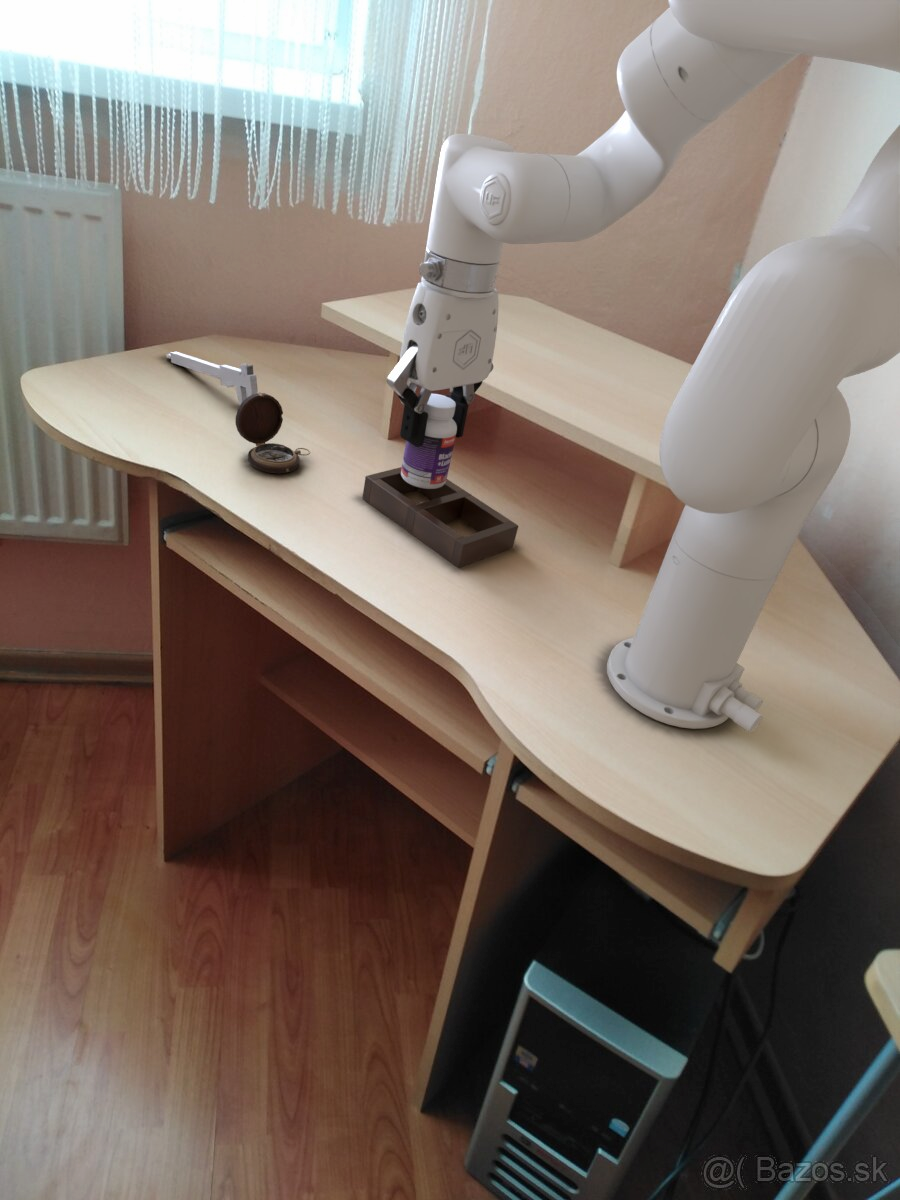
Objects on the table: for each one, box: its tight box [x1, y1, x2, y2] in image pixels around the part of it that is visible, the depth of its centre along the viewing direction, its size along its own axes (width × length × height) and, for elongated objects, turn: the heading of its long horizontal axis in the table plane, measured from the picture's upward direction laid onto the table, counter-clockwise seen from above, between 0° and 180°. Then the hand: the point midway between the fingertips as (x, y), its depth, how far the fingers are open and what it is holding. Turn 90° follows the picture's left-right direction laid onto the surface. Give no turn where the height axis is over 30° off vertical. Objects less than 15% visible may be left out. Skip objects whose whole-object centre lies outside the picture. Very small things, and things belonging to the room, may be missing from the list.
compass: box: [235, 391, 311, 474], centre depth 107 cm, size 8×8×7 cm
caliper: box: [165, 351, 259, 406], centre depth 121 cm, size 20×1×6 cm, turn 47°
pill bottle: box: [401, 393, 457, 489], centre depth 100 cm, size 5×5×10 cm
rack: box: [362, 466, 519, 569], centre depth 103 cm, size 17×9×3 cm, turn 44°
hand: (431, 435), depth 100 cm, fingers closed on pill bottle, 5 cm apart
